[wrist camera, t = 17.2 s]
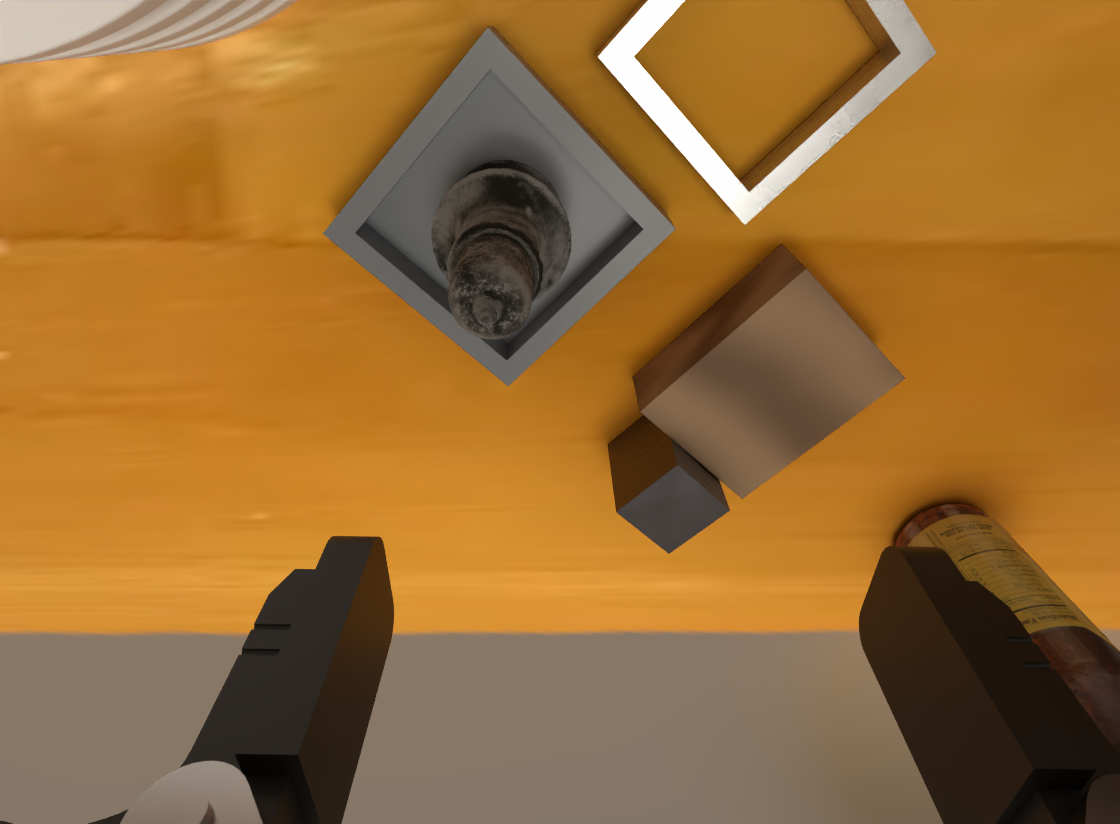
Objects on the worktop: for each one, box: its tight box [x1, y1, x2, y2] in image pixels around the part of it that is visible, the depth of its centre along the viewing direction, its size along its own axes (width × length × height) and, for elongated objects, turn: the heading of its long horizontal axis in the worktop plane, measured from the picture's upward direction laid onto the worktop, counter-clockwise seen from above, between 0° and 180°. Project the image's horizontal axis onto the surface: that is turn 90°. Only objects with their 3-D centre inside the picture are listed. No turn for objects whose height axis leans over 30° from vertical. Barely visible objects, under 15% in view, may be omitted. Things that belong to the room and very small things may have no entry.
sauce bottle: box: [895, 504, 1120, 756], centre depth 33 cm, size 6×6×20 cm
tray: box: [323, 27, 675, 386], centre depth 30 cm, size 11×11×2 cm
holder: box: [595, 0, 936, 225], centre depth 27 cm, size 10×10×2 cm
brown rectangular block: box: [633, 244, 905, 499], centre depth 34 cm, size 10×8×4 cm
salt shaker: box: [431, 160, 571, 339], centre depth 26 cm, size 6×6×12 cm
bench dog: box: [608, 415, 730, 553], centre depth 36 cm, size 4×4×6 cm
